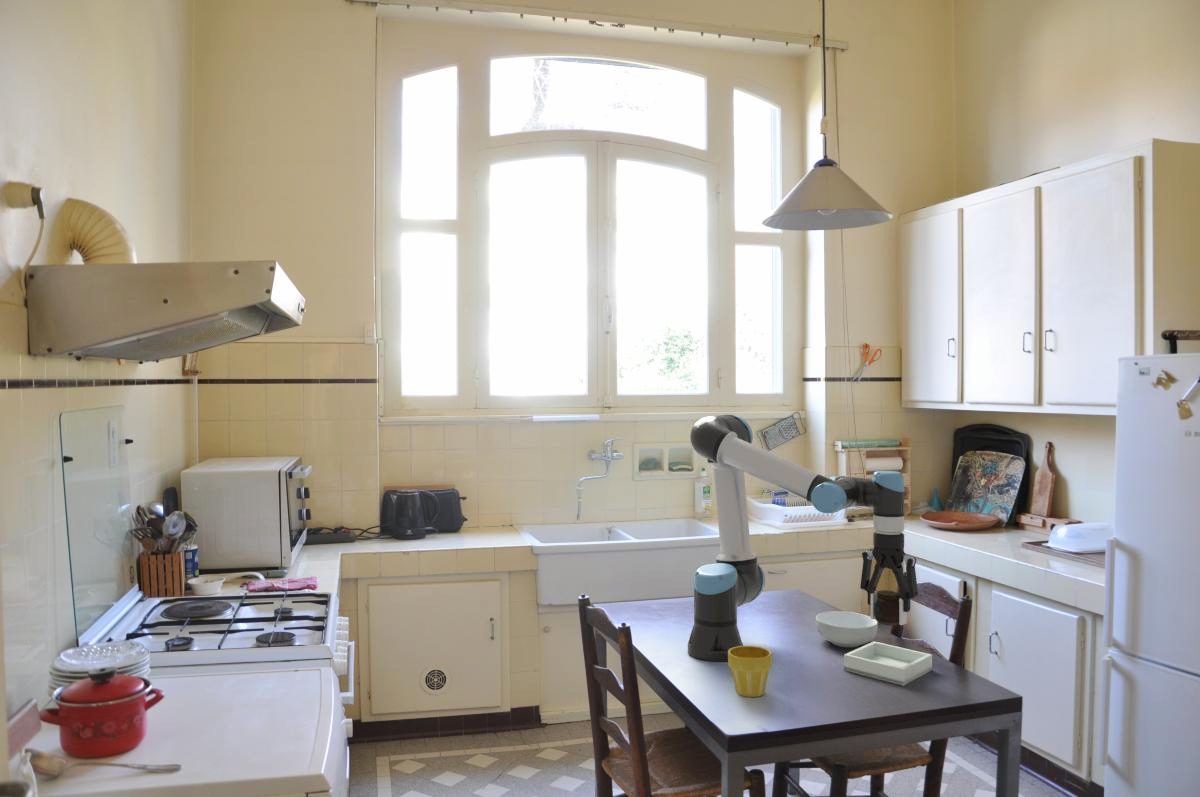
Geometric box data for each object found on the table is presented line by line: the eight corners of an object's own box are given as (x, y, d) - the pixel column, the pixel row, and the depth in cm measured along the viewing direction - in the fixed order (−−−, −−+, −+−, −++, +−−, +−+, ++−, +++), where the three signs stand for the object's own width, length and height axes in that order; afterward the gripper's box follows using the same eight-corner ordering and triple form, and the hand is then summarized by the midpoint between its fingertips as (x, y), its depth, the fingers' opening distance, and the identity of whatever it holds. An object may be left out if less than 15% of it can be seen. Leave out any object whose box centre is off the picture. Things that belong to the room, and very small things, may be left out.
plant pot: (718, 690, 205) (718, 650, 205) (748, 681, 211) (748, 642, 211) (751, 703, 197) (751, 661, 196) (780, 693, 203) (781, 652, 203)
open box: (903, 685, 208) (903, 669, 208) (843, 670, 219) (843, 654, 219) (932, 670, 219) (932, 654, 219) (873, 656, 231) (874, 641, 231)
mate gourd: (871, 618, 223) (871, 580, 223) (901, 620, 222) (902, 582, 222) (875, 626, 216) (875, 586, 216) (906, 628, 215) (907, 588, 215)
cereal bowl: (837, 655, 231) (837, 629, 231) (804, 637, 247) (804, 613, 247) (890, 649, 237) (890, 623, 237) (854, 632, 253) (854, 608, 252)
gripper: (933, 534, 214) (933, 625, 215) (859, 525, 228) (859, 610, 229) (920, 538, 209) (920, 631, 209) (845, 529, 223) (845, 616, 224)
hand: (888, 620), depth 219 cm, fingers closed on mate gourd, 7 cm apart
